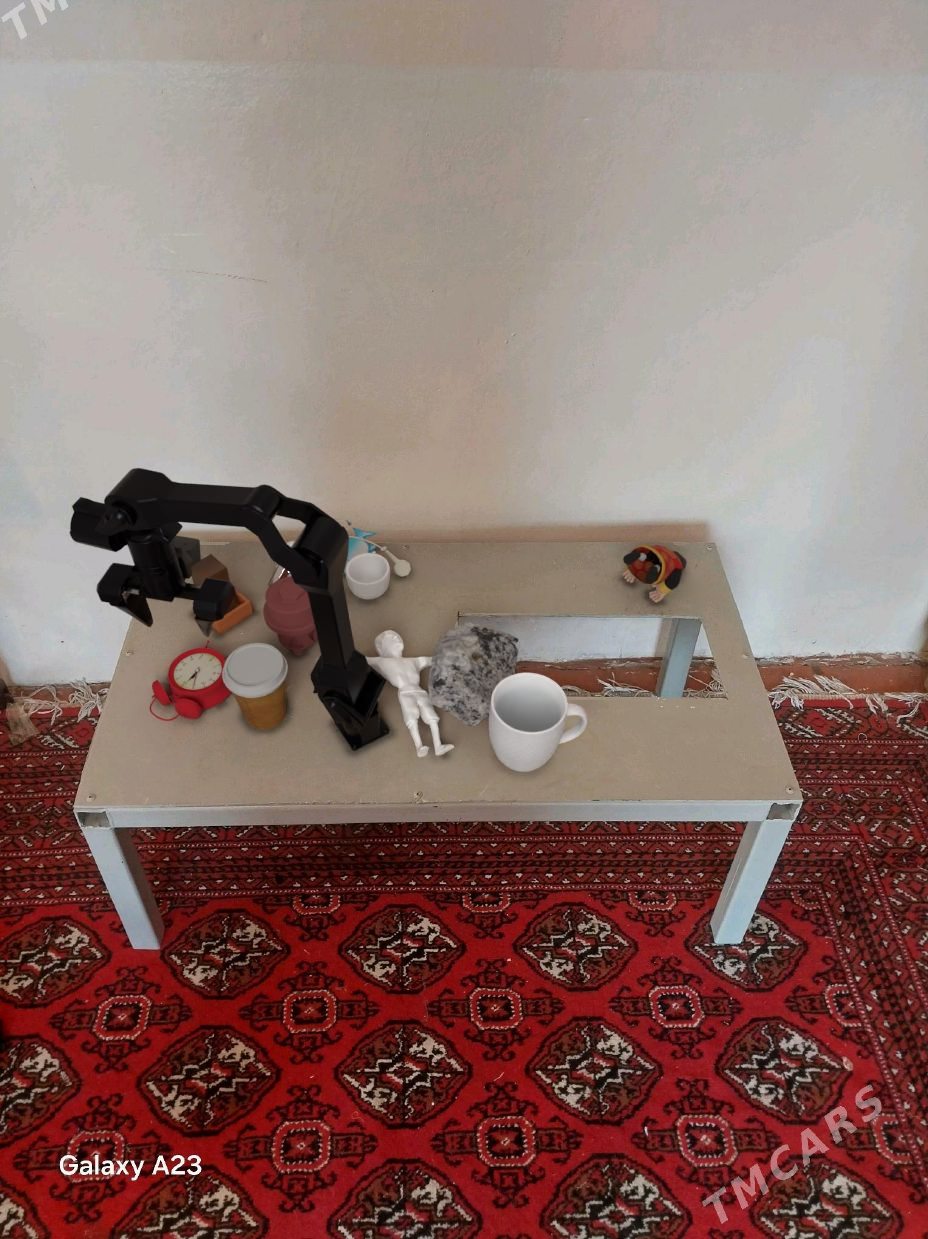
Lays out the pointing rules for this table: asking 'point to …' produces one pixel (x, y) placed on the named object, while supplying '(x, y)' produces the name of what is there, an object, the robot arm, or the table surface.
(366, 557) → the teacup
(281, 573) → the milkshake
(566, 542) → the table surface
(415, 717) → the figurine
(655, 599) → the figurine
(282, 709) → the disposable coffee cup
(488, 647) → the rock
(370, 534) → the toy
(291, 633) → the mechanical component
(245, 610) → the socket pad
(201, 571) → the brown rectangular block
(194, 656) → the alarm clock
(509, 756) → the mug
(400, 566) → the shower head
